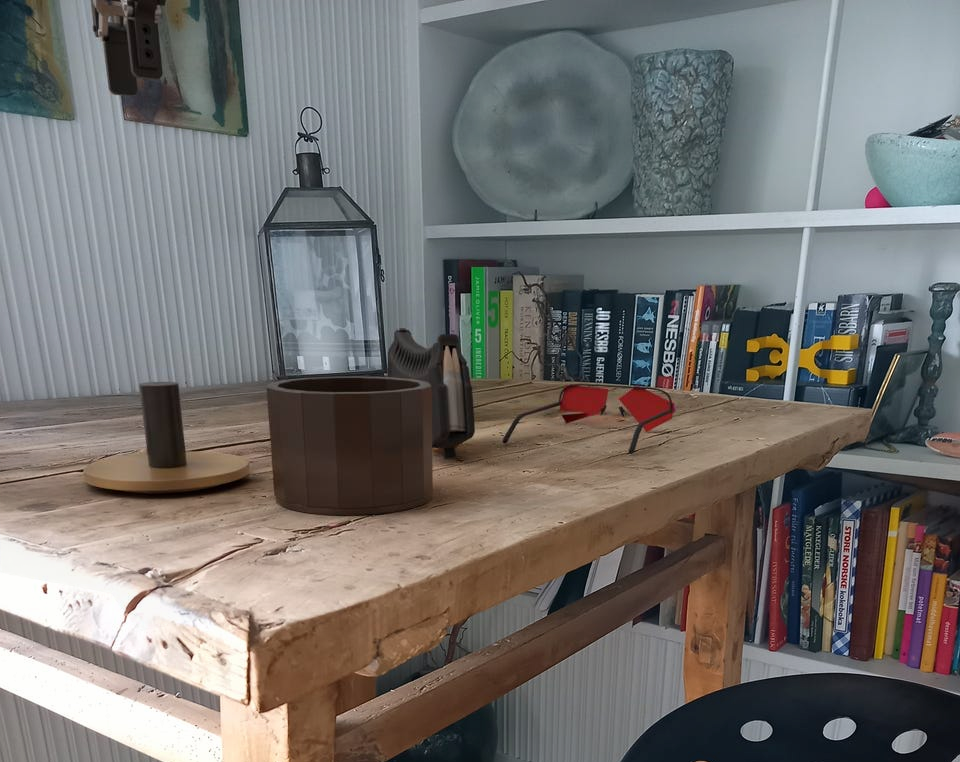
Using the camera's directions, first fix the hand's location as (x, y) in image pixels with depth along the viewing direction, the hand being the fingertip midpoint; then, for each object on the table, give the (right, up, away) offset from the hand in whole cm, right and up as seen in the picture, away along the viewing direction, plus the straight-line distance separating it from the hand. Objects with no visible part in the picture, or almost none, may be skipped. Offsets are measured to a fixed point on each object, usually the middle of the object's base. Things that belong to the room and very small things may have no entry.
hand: (135, 87), depth 75 cm
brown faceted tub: (+18, -33, -3) cm, 38 cm away
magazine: (+22, -24, +24) cm, 40 cm away
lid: (+2, -31, +2) cm, 31 cm away
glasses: (+40, -23, +25) cm, 52 cm away
